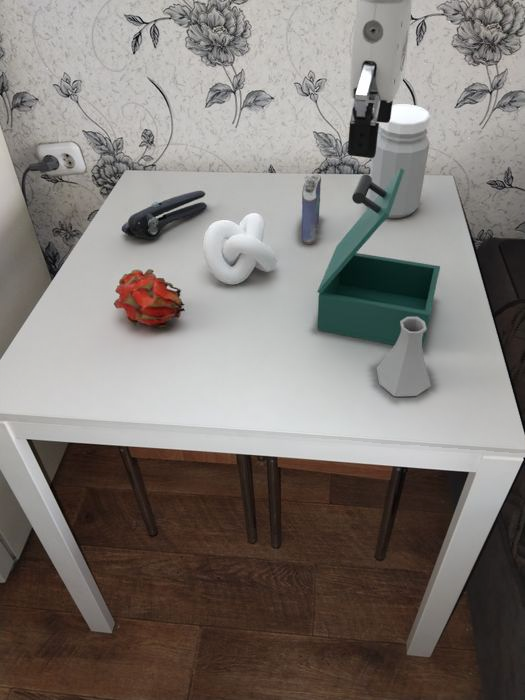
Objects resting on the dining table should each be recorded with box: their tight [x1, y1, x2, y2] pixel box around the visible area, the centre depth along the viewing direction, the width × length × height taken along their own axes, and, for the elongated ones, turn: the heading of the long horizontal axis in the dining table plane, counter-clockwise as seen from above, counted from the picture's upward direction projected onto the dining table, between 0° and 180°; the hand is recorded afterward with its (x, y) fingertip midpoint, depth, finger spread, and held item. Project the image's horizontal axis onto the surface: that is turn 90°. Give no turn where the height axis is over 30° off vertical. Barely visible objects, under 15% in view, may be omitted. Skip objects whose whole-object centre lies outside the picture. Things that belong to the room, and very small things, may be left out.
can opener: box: [121, 190, 208, 240], centre depth 109 cm, size 18×7×6 cm, turn 131°
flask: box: [376, 317, 432, 397], centre depth 77 cm, size 7×7×10 cm
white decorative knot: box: [202, 212, 278, 285], centre depth 97 cm, size 11×12×9 cm
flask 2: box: [301, 173, 322, 245], centre depth 104 cm, size 9×3×11 cm, turn 170°
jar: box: [367, 103, 431, 219], centre depth 106 cm, size 10×10×18 cm
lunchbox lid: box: [316, 169, 404, 294], centre depth 81 cm, size 16×12×5 cm
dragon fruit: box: [113, 269, 186, 328], centre depth 90 cm, size 8×8×12 cm
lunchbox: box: [316, 252, 441, 351], centre depth 88 cm, size 16×12×7 cm
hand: (369, 137), depth 72 cm, fingers open, 9 cm apart
